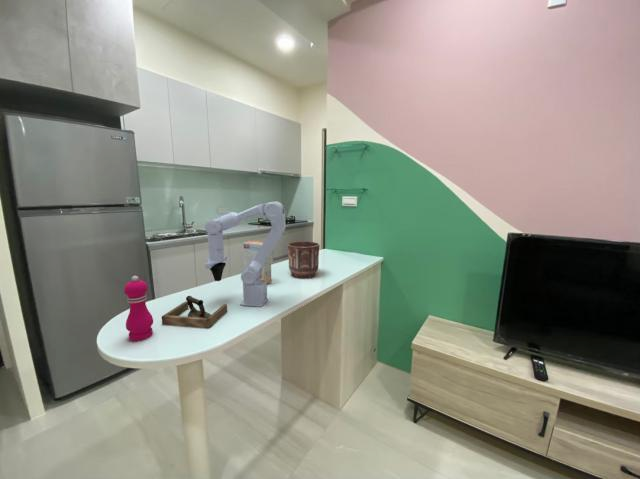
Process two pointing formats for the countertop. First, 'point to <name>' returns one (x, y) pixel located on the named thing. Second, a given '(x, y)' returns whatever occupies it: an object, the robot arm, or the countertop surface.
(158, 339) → the countertop surface
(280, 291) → the countertop surface
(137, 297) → the pepper mill
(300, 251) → the pottery
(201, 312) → the clothes iron
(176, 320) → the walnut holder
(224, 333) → the countertop surface
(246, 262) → the cracker box
